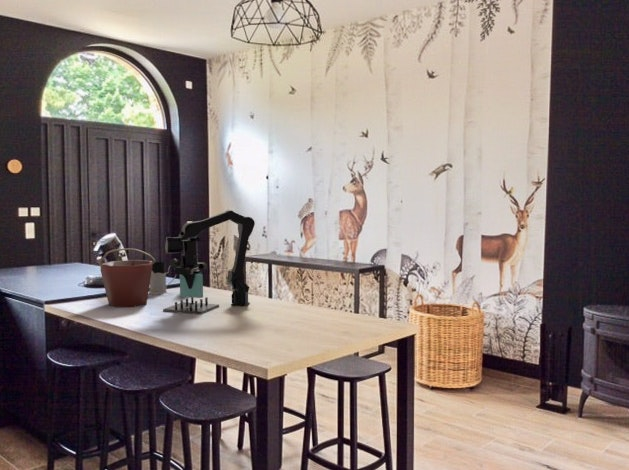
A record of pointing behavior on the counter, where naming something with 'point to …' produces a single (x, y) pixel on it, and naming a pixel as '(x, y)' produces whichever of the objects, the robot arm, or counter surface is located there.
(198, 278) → the teal plate
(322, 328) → the counter surface
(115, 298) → the bucket
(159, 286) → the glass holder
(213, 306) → the dish rack
